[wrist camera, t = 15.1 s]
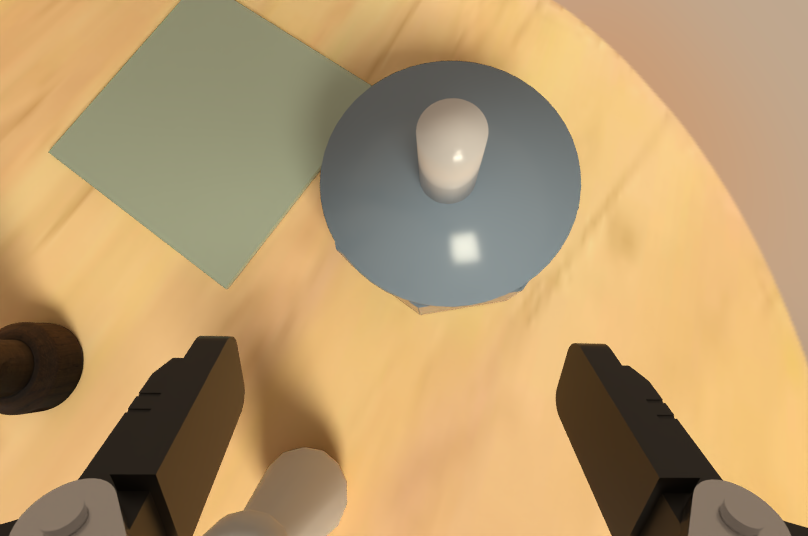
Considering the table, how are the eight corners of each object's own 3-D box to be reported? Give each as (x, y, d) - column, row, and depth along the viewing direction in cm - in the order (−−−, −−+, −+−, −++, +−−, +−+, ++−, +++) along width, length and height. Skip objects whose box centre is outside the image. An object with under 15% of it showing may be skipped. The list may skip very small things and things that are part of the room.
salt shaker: (256, 491, 30) (128, 595, 18) (306, 423, 31) (217, 475, 18) (320, 547, 29) (234, 699, 17) (370, 475, 30) (324, 570, 17)
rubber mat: (52, 154, 36) (48, 152, 36) (202, -18, 39) (200, -22, 38) (227, 289, 33) (225, 288, 33) (380, 93, 35) (379, 90, 35)
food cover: (298, 234, 34) (226, 171, 22) (420, 76, 35) (414, -60, 24) (473, 359, 31) (498, 366, 19) (594, 182, 33) (686, 89, 21)
